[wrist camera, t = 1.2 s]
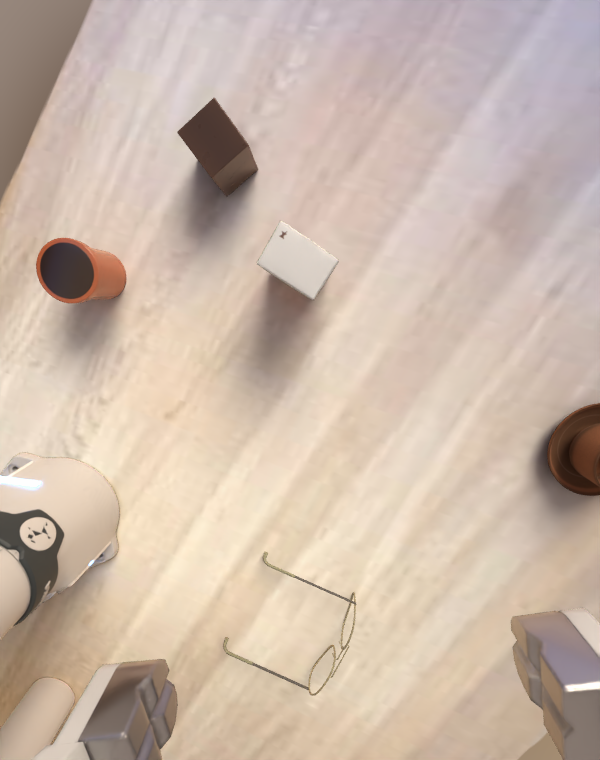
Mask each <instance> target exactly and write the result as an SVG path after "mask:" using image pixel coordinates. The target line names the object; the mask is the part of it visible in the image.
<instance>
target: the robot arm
mask: <svg viewBox="0 0 600 760" xmlns="http://www.w3.org/2000/svg"><path fill="white" fill-rule="evenodd" d="M17 468H18V469H17ZM119 512H120V511H119V503H118V499H117V496H116V494H115V492H114V490H113V488H112V486H111V485H110V483H109V482H108V481H107V480H106V479H105V477H104V476H103V475H102V474H100V473H99V472H98V471H97V470H95V469H94V468H92V467H91V466H89V465H87V464H85V463H83V462H81V461H78V460H75V459H71V458H64V457H52V458H43V457H39V456H36V455H33V454H30V453H25V452H22V453H19V454H17V455H16V456H14V457H13V458H12V459H11V460H10V462H9V463H8V464H7V466H6V467H5V468H4V470H3V471H2V472H1V474H0V640H1V639H2V638H3V637H4V636H5V635H6V633H7V632H8V631H9V630H10V629H11V628H12V627H13V626H15V625H17V624H19V623H20V622H22V621H23V620H24V619H25V618H26V617H27V616H28V615H29V614H30V613H32V612H33V611H34V610H35V609H36V608H37V607H38V606H39V605H40V604H41V603H44V602H45V601H47V600H48V599H50V598H51V597H52V596H53V595H54V594H55V593H56V592H57V593H58V594H59V593H61V592H63V591H64V590H65V589H66V588H67V587H70V586H72V585H73V584H74V583H75V582H76V581H77V580H78V579H79V578H80V577H81V575H82V574H83V573H84V572H85V571H86V570H87V569H89V568H92V567H94V566H96V565H98V564H101V563H103V562H105V561H107V560H110V559H111V558H113V557H114V556H115V555H116V554H117V552H118V542H117V537H116V530H117V526H118V522H119ZM101 553H102V554H101ZM511 631H512V633H513V634H514V636H515V638H516V639H517V641H516V643H515V644H514V645H513V656H514V661H515V665H516V668H517V672H518V675H519V677H520V680H521V682H522V684H523V686H524V688H525V690H526V692H527V694H528V696H529V698H530V700H531V701H533V702H534V703H535V704H536V705H538V706H539V707H540V708H542V709H543V719H544V726H545V727H546V729H547V731H548V733H549V735H550V736H551V738H552V740H553V742H554V744H555V746H556V747H557V749H558V751H559V753H560V755H561V756H562V758H563V760H600V623H599V622H598V621H597V620H596V619H595V618H594V617H593V616H592V614H591V613H590V612H589V611H587V610H586V609H584V608H577V609H569V610H561V611H550V612H543V613H535V614H528V615H520V616H513V617H512V619H511ZM168 673H169V668H168V665H167V663H166V660H165V659H157V660H146V661H134V662H123V663H115V664H105V665H102V666H101V667H100V668H99V669H98V670H96V672H95V673H94V675H93V677H92V678H91V680H90V682H89V684H88V685H87V687H86V689H85V690H84V692H83V694H82V695H81V697H80V699H79V701H78V702H77V704H76V706H75V707H74V709H73V711H72V713H71V714H70V716H69V718H68V719H67V721H66V723H65V724H64V726H63V728H62V730H61V731H60V733H59V735H58V736H57V738H56V740H55V742H54V743H53V745H46V746H45V747H44V748H43V749H42V750H41V751H40V752H39V753H38V754H36V755H35V756H34V757H33V758H32V759H31V760H162V755H161V751H160V749H161V748H162V747H163V746H164V744H165V743H166V742H167V741H168V740H169V738H170V737H171V735H172V731H173V728H174V725H175V722H176V714H177V706H178V703H177V693H176V689H175V686H174V685H173V684H172V683H171V682H170V681H168V680H167V679H166V678H167V675H168Z"/></svg>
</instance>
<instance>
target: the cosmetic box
mask: <svg viewBox="0 0 600 760" xmlns="http://www.w3.org/2000/svg"><path fill="white" fill-rule="evenodd" d="M338 262H339V260H338V259H337V258H336V257H334V256H333V255H331V254H330V253H328V252H327V251H325V250H324V249H322V248H321V247H319V246H318V245H317V244H315V243H314V242H313V241H312V240H310V239H309V238H307V237H305V236H304V235H302V234H301V233H299V232H298V231H296V230H295V229H293V228H292V227H290V226H289V225H287V224H286V223H284V222H283V221H280V222H279V224H278V225H277V227H276V229H275V231H274V233H273V235H272V236H271V238H270V240H269V242H268V244H267V245H266V247H265V249H264V251H263V253H262V254H261V256H260V258H259V260H258V261H257V264H258V265H259V266H260V267H262V268H263V269H265V270H266V271H267V272H269V273H270V274H272V275H273V276H275V277H276V278H278V279H279V280H281V281H282V282H284V283H285V284H287V285H288V286H290V287H291V288H293V289H295V290H296V291H298V292H300V293H301V294H303V295H305V296H306V297H308V298H310V299H311V300H314V299H315V298H316V296H317V295H318V293H319V292H320V290H321V289H322V287H323V286H324V284H325V283H326V281H327V279H328V278H329V276H330V275H331V273H332V272H333V270H334V269H335V267H336V265H337V264H338Z"/></svg>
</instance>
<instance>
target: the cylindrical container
mask: <svg viewBox="0 0 600 760" xmlns="http://www.w3.org/2000/svg"><path fill="white" fill-rule="evenodd" d="M74 701H75V696H74V693H73V691H72V689H71V688H70V686H68V685H67V684H66V683H65V682H63V681H61V680H59V679H56V678H50V677H47V678H41V679H39V680H37V681H35V682H34V683H33V684H32V686H31V687H30V688H29V690H28V691H27V692H26V694H25V695H24V697H23V698H22V699H21V701H20V702H19V703H18V705H17V706H16V708H15V709H14V710H13V712H12V713H11V714H10V716H9V717H8V719H7V720H6V721H5V723H4V724H3V726H2V727H1V728H0V760H31V759H32V758H33V757H34V756H35V755H36V754H38V753H39V752H40V751H41V750H42V749H43V748H44V747H45V746H46V745H50V744H51V742H52V740H53V739H54V737H55V735H56V734H57V732H58V730H59V728H60V727H61V725H62V723H63V722H64V720H65V718H66V716H67V715H68V713H69V711H70V710H71V708H72V706H73V704H74Z"/></svg>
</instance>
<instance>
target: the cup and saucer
mask: <svg viewBox="0 0 600 760" xmlns="http://www.w3.org/2000/svg"><path fill="white" fill-rule="evenodd" d="M547 455H548V464H549V467H550V470H551V472H552V474H553V475H554V477H555V478H556V480H557V481H558V482H559V483H560V484H561V485H562V486H564V487H565V488H566V489H568V490H570V491H572V492H574V493H577V494H581V495H589V496H595V495H600V403H598V404H592V405H589V406H586V407H583V408H581V409H579V410H577V411H575V412H573V413H572V414H570V415H569V416H568V417H566V418H565V419H564V420H563V421H562V422H561V423H560V424H559V426H558V427H557V428H556V430H555V431H554V433H553V435H552V437H551V439H550V442H549V446H548V454H547Z"/></svg>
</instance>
